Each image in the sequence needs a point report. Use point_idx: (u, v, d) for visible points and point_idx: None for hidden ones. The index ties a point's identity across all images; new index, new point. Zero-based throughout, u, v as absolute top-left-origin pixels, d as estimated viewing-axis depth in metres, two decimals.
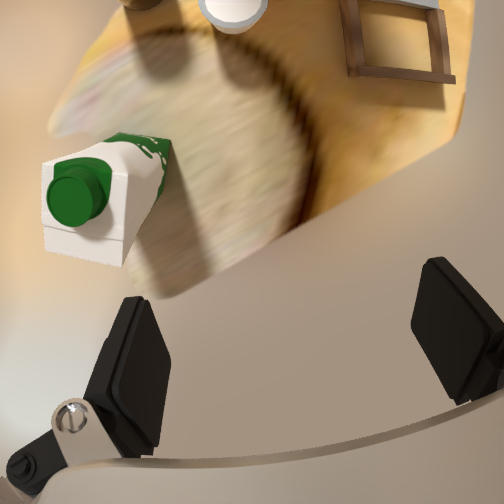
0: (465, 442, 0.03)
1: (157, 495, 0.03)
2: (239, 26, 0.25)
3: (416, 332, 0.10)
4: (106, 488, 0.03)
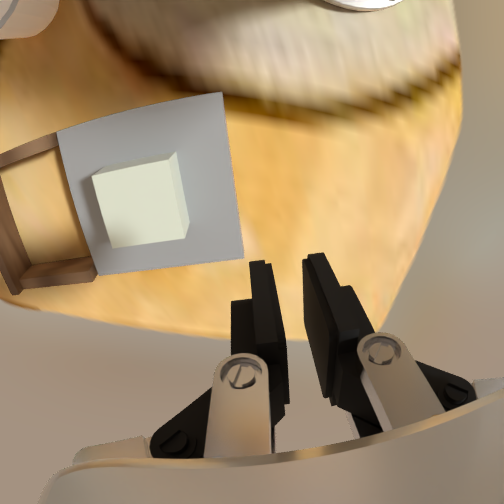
0: (465, 442, 0.03)
1: (157, 495, 0.03)
2: None
3: (306, 328, 0.11)
4: (105, 488, 0.03)
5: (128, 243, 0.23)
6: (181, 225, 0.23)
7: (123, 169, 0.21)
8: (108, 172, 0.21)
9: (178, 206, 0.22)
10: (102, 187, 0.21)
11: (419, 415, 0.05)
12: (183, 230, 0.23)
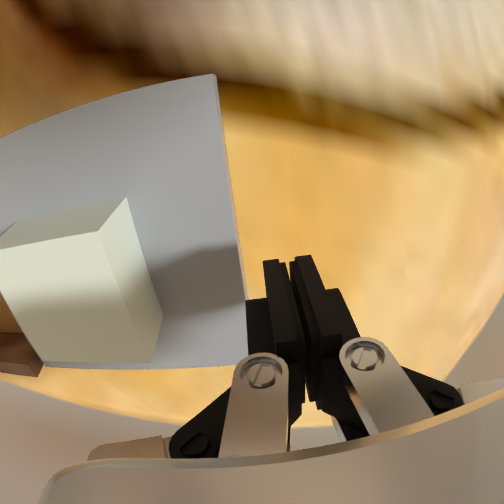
0: (465, 442, 0.03)
1: (157, 495, 0.03)
2: None
3: None
4: (106, 488, 0.03)
5: (62, 358, 0.12)
6: (142, 344, 0.12)
7: (24, 246, 0.09)
8: (3, 249, 0.09)
9: (132, 315, 0.11)
10: (1, 273, 0.10)
11: (407, 420, 0.05)
12: (147, 349, 0.12)
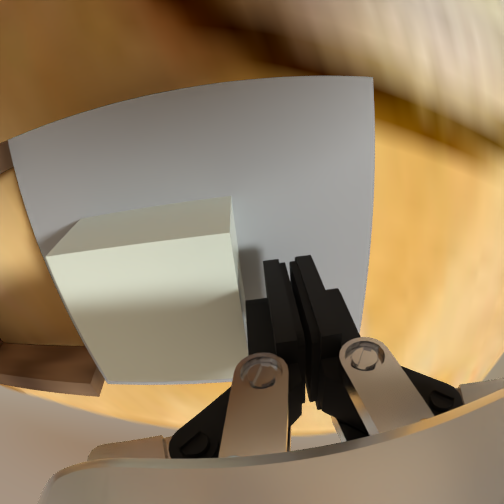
0: (465, 442, 0.03)
1: (157, 495, 0.03)
2: None
3: None
4: (105, 488, 0.03)
5: (138, 378, 0.11)
6: None
7: (114, 248, 0.09)
8: (80, 252, 0.09)
9: (244, 327, 0.10)
10: (71, 282, 0.09)
11: (407, 420, 0.05)
12: None
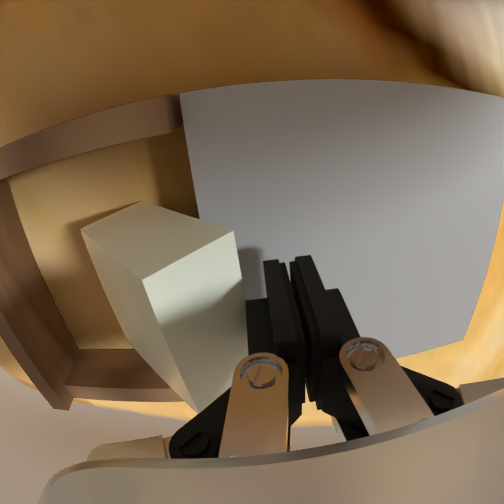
0: (465, 442, 0.03)
1: (157, 495, 0.03)
2: None
3: None
4: (106, 488, 0.03)
5: (139, 352, 0.13)
6: (193, 399, 0.10)
7: (100, 246, 0.10)
8: None
9: (184, 372, 0.09)
10: (92, 256, 0.11)
11: (407, 420, 0.05)
12: (200, 404, 0.10)
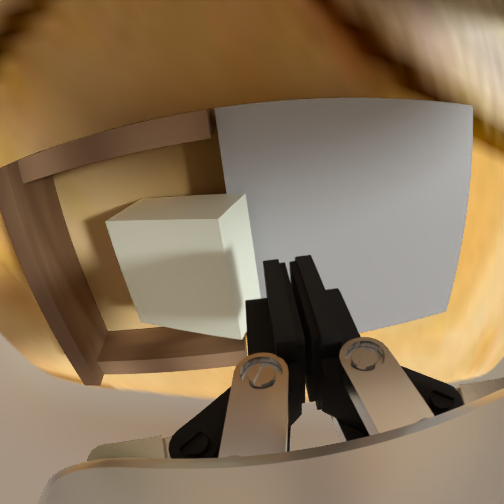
0: (465, 442, 0.03)
1: (157, 495, 0.03)
2: None
3: None
4: (105, 488, 0.03)
5: (161, 322, 0.16)
6: (237, 322, 0.14)
7: (147, 221, 0.13)
8: (127, 221, 0.13)
9: (234, 295, 0.14)
10: (120, 241, 0.14)
11: (407, 420, 0.05)
12: (241, 328, 0.14)
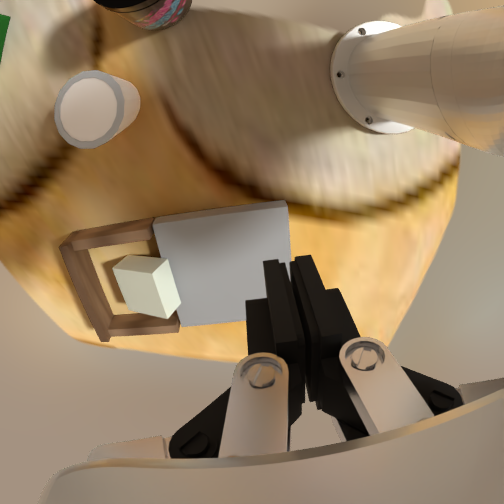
0: (465, 442, 0.03)
1: (157, 495, 0.03)
2: (56, 122, 0.22)
3: None
4: (105, 488, 0.03)
5: (137, 310, 0.36)
6: (165, 311, 0.34)
7: (128, 270, 0.33)
8: (121, 269, 0.33)
9: (162, 300, 0.33)
10: (118, 276, 0.34)
11: (407, 420, 0.05)
12: (167, 314, 0.34)
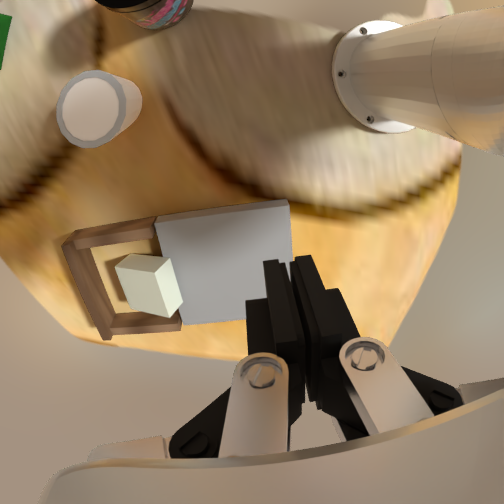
0: (465, 442, 0.03)
1: (157, 495, 0.03)
2: (58, 122, 0.22)
3: None
4: (105, 488, 0.03)
5: (139, 309, 0.36)
6: (167, 310, 0.34)
7: (131, 269, 0.33)
8: (123, 268, 0.33)
9: (164, 299, 0.33)
10: (121, 275, 0.34)
11: (407, 420, 0.05)
12: (169, 312, 0.34)
